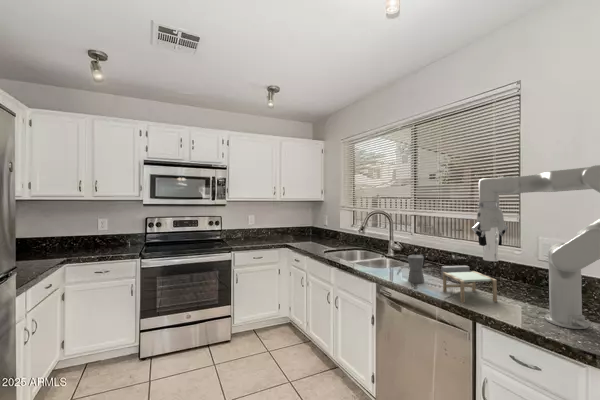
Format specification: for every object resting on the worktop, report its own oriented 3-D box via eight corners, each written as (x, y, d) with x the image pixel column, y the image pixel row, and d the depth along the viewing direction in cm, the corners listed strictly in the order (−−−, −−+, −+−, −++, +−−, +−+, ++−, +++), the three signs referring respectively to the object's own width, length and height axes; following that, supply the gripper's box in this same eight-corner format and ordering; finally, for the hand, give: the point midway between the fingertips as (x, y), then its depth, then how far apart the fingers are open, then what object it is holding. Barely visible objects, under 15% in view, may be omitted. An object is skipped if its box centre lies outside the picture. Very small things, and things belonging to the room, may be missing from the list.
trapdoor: (491, 285, 140) (491, 274, 140) (463, 286, 140) (463, 275, 140) (466, 274, 160) (466, 265, 160) (441, 275, 159) (441, 266, 159)
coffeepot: (415, 285, 167) (415, 254, 167) (402, 281, 175) (401, 251, 175) (432, 280, 175) (431, 251, 175) (418, 277, 183) (418, 248, 183)
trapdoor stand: (497, 301, 139) (496, 279, 139) (461, 302, 138) (461, 281, 138) (474, 290, 156) (474, 270, 156) (443, 291, 155) (442, 272, 155)
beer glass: (478, 259, 132) (477, 226, 132) (488, 257, 134) (487, 225, 134) (492, 262, 125) (491, 227, 125) (503, 260, 128) (502, 226, 128)
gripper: (475, 206, 126) (476, 247, 126) (514, 205, 126) (515, 245, 126) (465, 206, 133) (466, 244, 133) (501, 205, 134) (502, 243, 134)
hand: (490, 244), depth 130 cm, fingers closed on beer glass, 6 cm apart
